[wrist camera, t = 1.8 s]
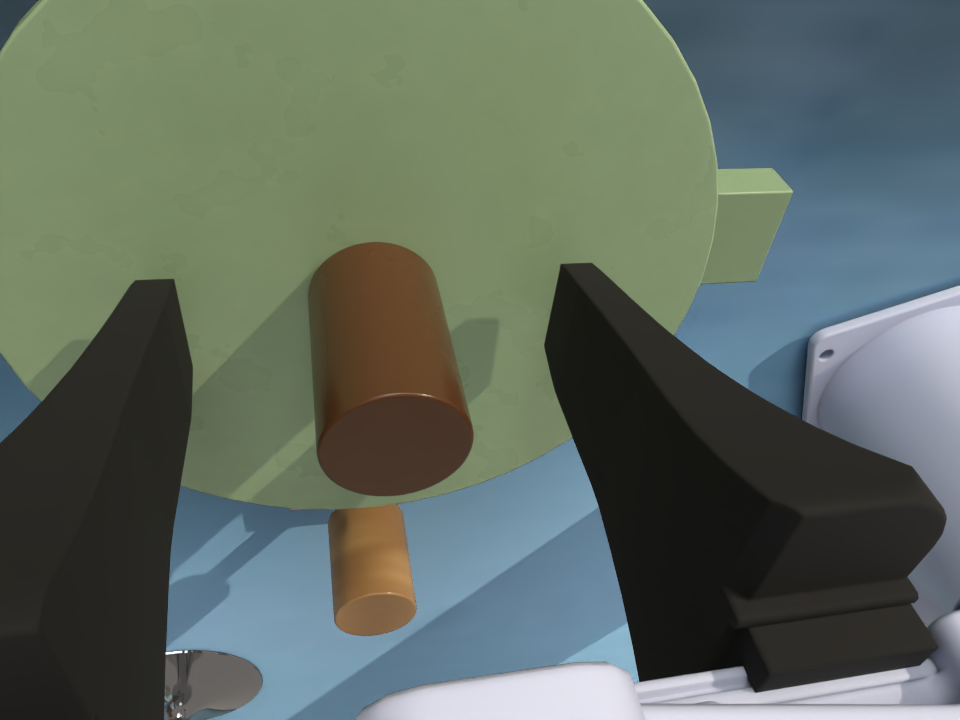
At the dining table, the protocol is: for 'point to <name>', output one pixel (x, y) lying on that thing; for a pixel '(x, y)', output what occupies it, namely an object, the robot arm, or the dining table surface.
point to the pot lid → (347, 217)
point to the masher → (370, 570)
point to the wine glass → (207, 684)
